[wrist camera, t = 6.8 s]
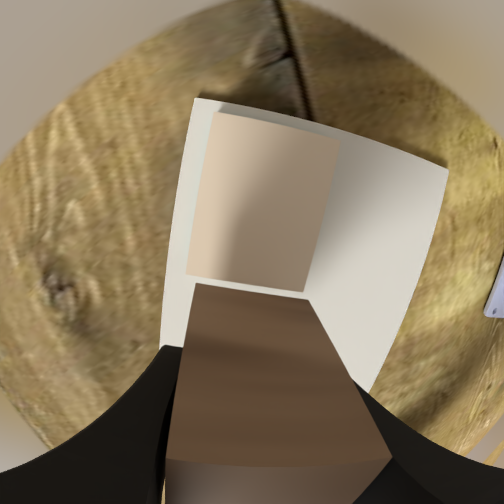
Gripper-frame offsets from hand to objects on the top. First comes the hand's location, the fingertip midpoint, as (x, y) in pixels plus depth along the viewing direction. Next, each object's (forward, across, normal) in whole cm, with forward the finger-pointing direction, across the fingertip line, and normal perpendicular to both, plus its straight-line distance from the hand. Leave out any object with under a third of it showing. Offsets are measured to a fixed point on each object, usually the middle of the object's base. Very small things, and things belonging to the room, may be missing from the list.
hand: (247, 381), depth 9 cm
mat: (+6, -3, -1) cm, 7 cm away
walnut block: (+2, 0, 0) cm, 2 cm away
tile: (+5, 0, -1) cm, 5 cm away
